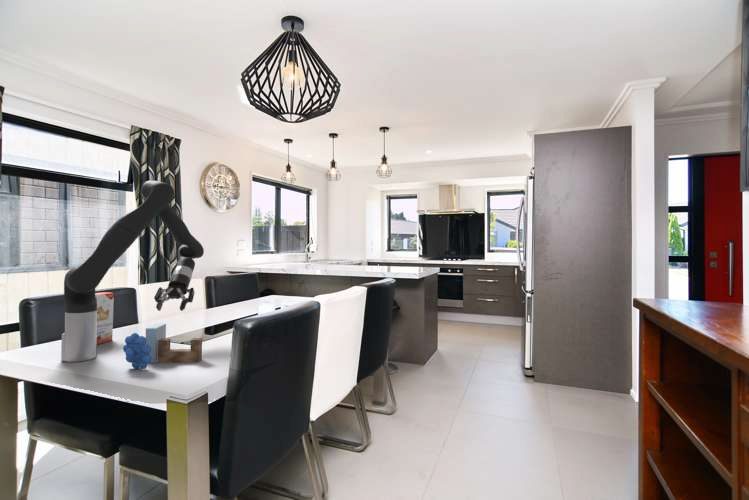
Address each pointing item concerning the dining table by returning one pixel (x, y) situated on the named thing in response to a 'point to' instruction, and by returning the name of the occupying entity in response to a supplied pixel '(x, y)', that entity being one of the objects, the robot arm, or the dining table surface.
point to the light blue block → (155, 338)
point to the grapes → (137, 351)
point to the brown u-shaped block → (179, 352)
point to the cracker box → (104, 316)
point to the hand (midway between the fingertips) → (169, 309)
